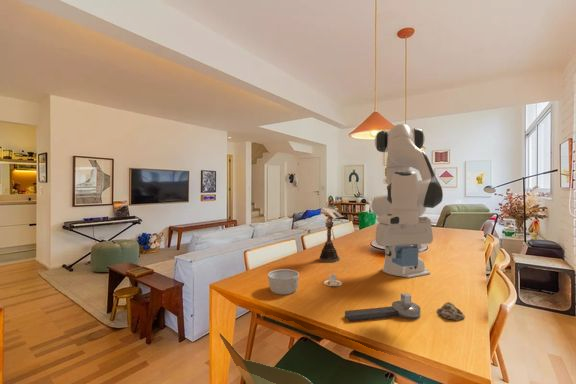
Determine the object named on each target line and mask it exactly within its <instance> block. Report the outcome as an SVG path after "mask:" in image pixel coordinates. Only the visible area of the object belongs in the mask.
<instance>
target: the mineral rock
mask: <svg viewBox="0 0 576 384" xmlns="http://www.w3.org/2000/svg"><path fill="white" fill-rule="evenodd" d="M436 311H437V313H438V316H440V317H442V318H445V319H449V320H453V321H457V322H458V321H461V320H464V319H465V317H466V316H465V314H464V313H463V312H462V311H461V310H460V309H459V308H457V307H456V306H455V304H453V303H452V302H445V303H444V304H443V305H442V306H441V307H440V308H437V309H436Z"/></svg>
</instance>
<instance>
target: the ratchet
mask: <svg viewBox="0 0 576 384" xmlns="http://www.w3.org/2000/svg"><path fill="white" fill-rule="evenodd" d="M344 317H345V318H346V320H347V321H348V322H350V323H351V322H359V321H360V322H361V321H368V320H369V321H370V320H380V319H388V318H390V319H391V318H397V317H398V318H400V319H404V320H418V319H420V318H421V306H420V305H419V304H416V303H415V302H413V301H412V295H411V294H409V293H408V292H404V293H402V292H401V293H400V300H395V301H393V302H392V303H391V306H382V307H372V308H362V309H351V310H344Z"/></svg>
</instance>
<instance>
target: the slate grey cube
mask: <svg viewBox="0 0 576 384" xmlns="http://www.w3.org/2000/svg"><path fill="white" fill-rule="evenodd" d="M394 250H395V252H396V253H398V258H396V259H394V258H392V262H393V263H395V264H398V265H400V266H402V267H404V266H417V265H418V257H419V251H418V248H417V247H414V246H413V245H398V246H396V248H395V249H394Z"/></svg>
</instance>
